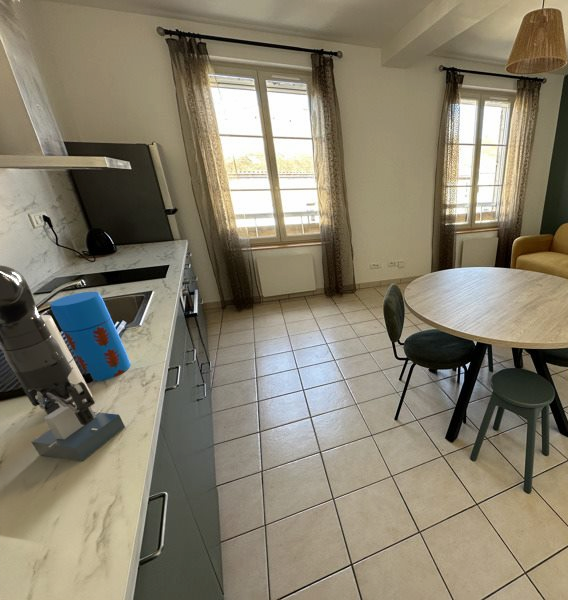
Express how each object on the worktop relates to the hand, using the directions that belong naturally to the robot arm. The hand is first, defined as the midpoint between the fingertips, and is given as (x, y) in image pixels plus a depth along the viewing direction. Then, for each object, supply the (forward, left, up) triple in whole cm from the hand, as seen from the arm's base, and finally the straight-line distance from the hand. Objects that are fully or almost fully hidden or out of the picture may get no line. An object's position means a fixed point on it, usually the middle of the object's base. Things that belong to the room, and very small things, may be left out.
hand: (73, 420), depth 74 cm
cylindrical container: (-17, +11, -6) cm, 21 cm away
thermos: (-22, +25, -6) cm, 34 cm away
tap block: (0, 0, -6) cm, 6 cm away
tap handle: (0, 0, -2) cm, 2 cm away
